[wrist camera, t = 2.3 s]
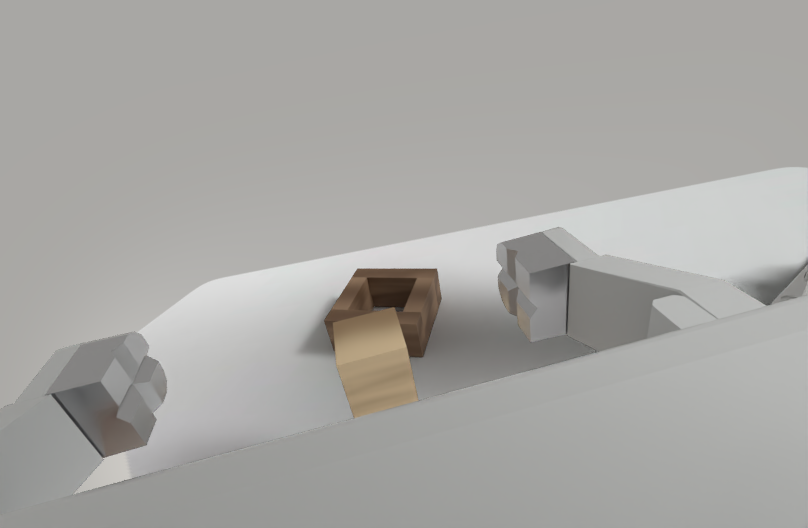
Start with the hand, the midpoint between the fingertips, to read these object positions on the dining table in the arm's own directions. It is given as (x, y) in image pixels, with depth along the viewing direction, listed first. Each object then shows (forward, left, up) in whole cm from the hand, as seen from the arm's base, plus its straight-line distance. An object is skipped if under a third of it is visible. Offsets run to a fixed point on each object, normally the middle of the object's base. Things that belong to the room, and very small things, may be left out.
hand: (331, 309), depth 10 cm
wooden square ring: (-21, -26, -26) cm, 43 cm away
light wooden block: (-7, -10, -26) cm, 29 cm away
